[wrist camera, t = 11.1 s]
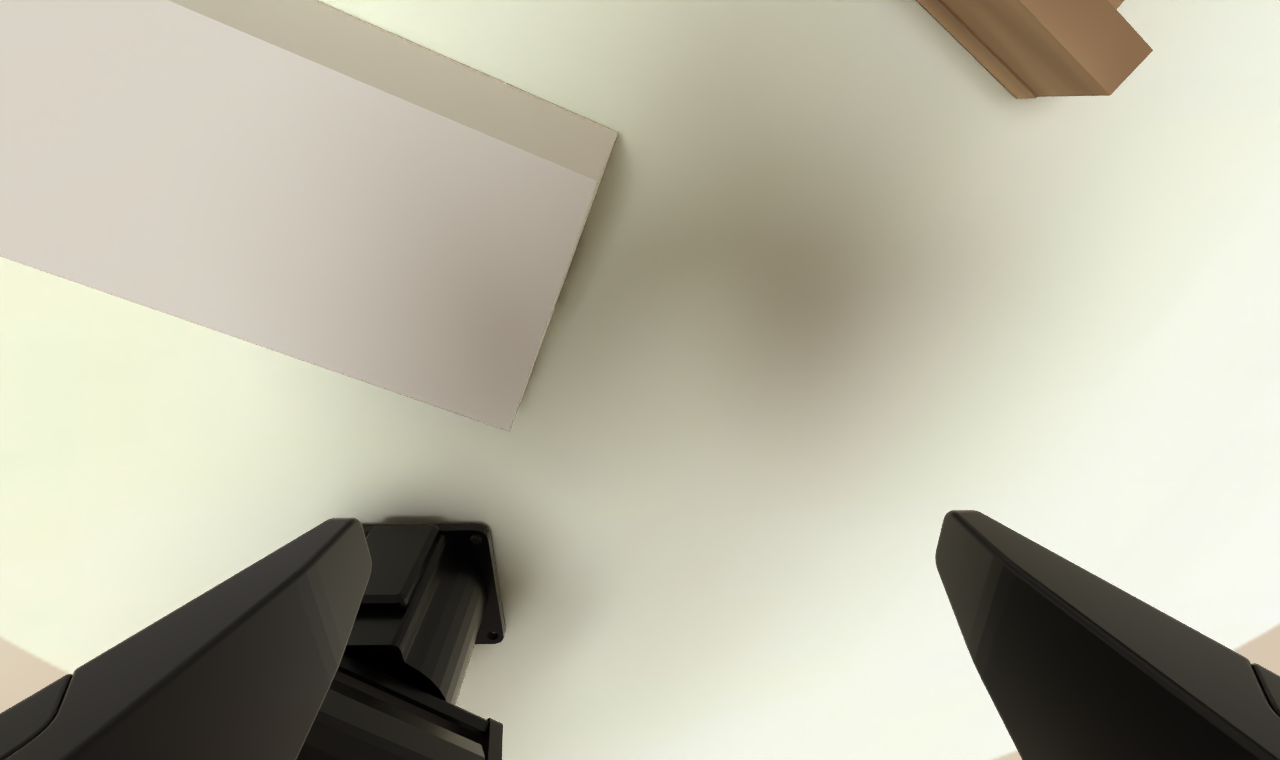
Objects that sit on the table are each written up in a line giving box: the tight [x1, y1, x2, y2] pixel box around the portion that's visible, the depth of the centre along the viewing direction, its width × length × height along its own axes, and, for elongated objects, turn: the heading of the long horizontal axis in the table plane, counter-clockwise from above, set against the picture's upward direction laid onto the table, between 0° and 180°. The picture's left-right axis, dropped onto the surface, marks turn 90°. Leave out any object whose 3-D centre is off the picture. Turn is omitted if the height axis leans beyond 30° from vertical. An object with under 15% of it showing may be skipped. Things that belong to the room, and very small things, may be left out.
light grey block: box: [0, 0, 618, 431], centre depth 18 cm, size 34×5×10 cm
